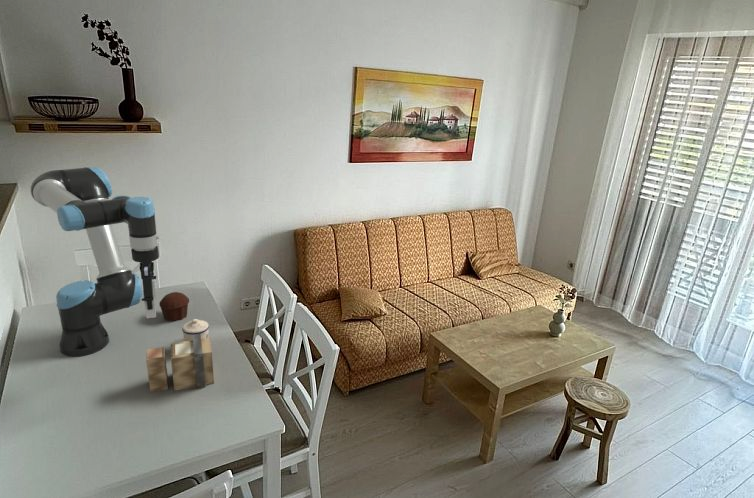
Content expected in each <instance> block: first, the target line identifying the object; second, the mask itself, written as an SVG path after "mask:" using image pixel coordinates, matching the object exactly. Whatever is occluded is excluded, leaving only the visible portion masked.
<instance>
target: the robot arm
mask: <svg viewBox="0 0 754 498" xmlns="http://www.w3.org/2000/svg"><path fill="white" fill-rule="evenodd" d="M30 194H31V196H32V198H33V200H34V201H36V202H37V203H38V204H40V205H41V206H42V207H43V206H44V207H48V208H50V209H51V210H52V211H53V212H55V213H56V215H57V220H58V224H59V226H60V227H61V229H62V230H63V231H65V232H73V231H82V230H85V231H86V234H87V237H88V240H89V244H90V247H91V250H92V253H93V256H94V259H95V263H96V267H97V270H98V272H99V273H98V275H97V277H96V283H94V281H91V280H83V281H82V280H78V281H74V282H71V283H69V284H66V285H64V286H62V287H61V288H60V289H59V290H58V291H57V293H56V307H57V310H58V315H59V320H60V325H61V329H62V330H61V335H60V342H59V344H58V345H59V351H60V352H61V354H62V355H64V356H67V357H82V356H88V355H92V354H94V353H97V352H99V351H101V350H102V349H104V348H105V347H106V346H107V345H108V344H109V343H110V337H109V333H108V331H107V330H106V328H105V327H104V325H103V323H102V321H101V316H103V315H106V314H110V313H114V312H116V311H121V310H123V309H128V308H131V307H133V306H136V305H138V304H139V303H141V302H144V310H145V316H146V317H145V318H146V319H150V318H151V319H152V318H157V312H156V305H155V304H156V303H155V299H157V292H156V291H157V290H156V283H155V280H157V275H155V273H154V270H155V268H154V267H155V263H154V262H155V261H156V260H158V259H159V257H160V255H159V254H160V253H159V247H158V240H159V239H160V236H159V235H157V224H156V213H155V211H156V210H155V207H154V201H153V200H152V198H150V197H145V196H133V197H130V196H127V195H124V194H123V195H121V194H120V195H115V196H114V197H113V198H111V199H110V197H111V196H112V195H113V189H112V184H111V181H110V179H109V178H108V175H107V174H106V173H105V171H104V170H102V169H101V168H99V167H86V166H85V167H78V168H67V169H66V168H65V169H55V170H48V171H45V172H43V173H42V174H40V175H38V176H37V177H36V178H35V179H34V180H33V182H32V183H31V185H30ZM121 223H125V224H127V227H128V238H129V243H130V248H131V259H132V260H133V261H134V262H135V263H139V271H140V276H139V275H138V274H137V273H132V270H131V268H129V267H127V266H126V265H125V261H124V259H123V256H122V253H121V249H120V246H119V242H118V240H117V237H116V233H115V229H114V227H113V225H115V224H116V225H117V224H121Z"/></svg>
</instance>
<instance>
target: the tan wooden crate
mask: <svg viewBox="0 0 754 498" xmlns="http://www.w3.org/2000/svg"><path fill="white" fill-rule="evenodd" d="M212 350H213V349H212V344H211V338H210V337H209V338H205V339H201V336H200V334H198V335H193V340H191V341H184V340H183V341H178V342H172V343H170V362H171V369H172V370H171V372H172V380H173V391H180V390H184V389H190V388H197V389H203V388H206V385H212V384H215V380H214V379H215V378H214V366H213V365H214V364H213V363H214V362H213V351H212Z"/></svg>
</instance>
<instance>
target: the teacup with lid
mask: <svg viewBox="0 0 754 498" xmlns="http://www.w3.org/2000/svg"><path fill="white" fill-rule="evenodd" d="M181 328H182V329H181V330H182V334H183V342H184V341H191V340H193V335H198V334H200V336H201V339H205V338H210V329H209V328H210V324H209V322H207V321H206V320H202V319H198V318H194V319H192V320H191V321H188V322H186V323H184V324H183V326H182V327H181Z"/></svg>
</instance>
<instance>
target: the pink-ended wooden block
mask: <svg viewBox="0 0 754 498" xmlns="http://www.w3.org/2000/svg"><path fill="white" fill-rule="evenodd" d="M145 358H146V359H145V361H146V362H145V363H146V368H147V376H148V384H149V391H150V393H153V392H160V391H163V390H164V391H165V390H168V387H169V386H168V385H169V384H168V382H169V380H168V379H169V377H168V369H167V359H166V352H165V346H160V347H155V348H148V349H146V357H145Z"/></svg>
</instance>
